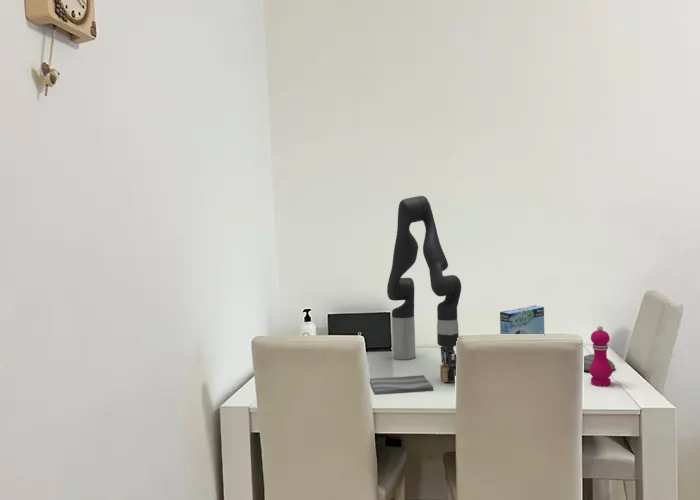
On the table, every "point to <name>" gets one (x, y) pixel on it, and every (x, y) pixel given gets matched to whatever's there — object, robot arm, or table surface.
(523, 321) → the gum box
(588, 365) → the grey round bowl
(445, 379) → the oak cube
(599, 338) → the pepper mill
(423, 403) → the table surface
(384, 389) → the slate board
